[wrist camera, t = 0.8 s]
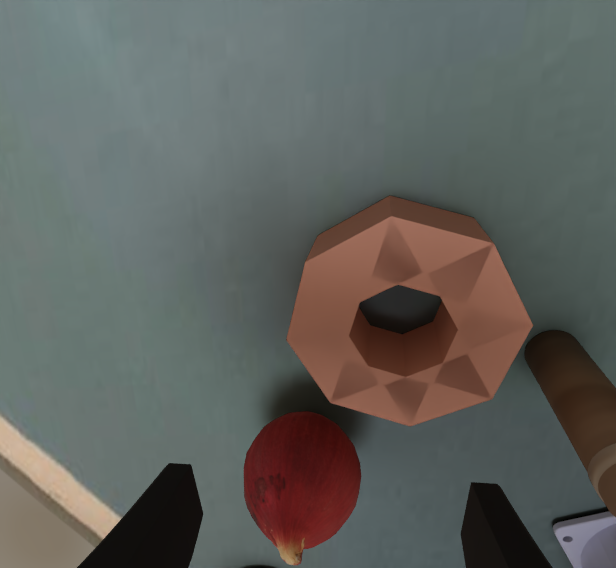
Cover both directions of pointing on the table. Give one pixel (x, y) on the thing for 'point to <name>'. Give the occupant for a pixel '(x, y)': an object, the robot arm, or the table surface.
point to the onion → (301, 481)
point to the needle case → (579, 404)
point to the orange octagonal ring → (421, 341)
